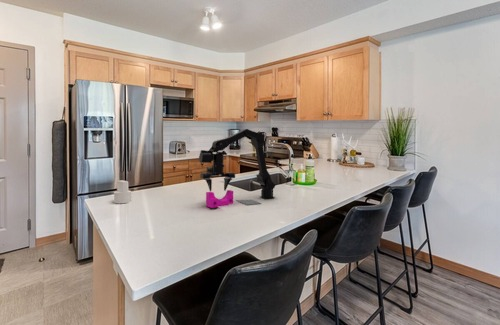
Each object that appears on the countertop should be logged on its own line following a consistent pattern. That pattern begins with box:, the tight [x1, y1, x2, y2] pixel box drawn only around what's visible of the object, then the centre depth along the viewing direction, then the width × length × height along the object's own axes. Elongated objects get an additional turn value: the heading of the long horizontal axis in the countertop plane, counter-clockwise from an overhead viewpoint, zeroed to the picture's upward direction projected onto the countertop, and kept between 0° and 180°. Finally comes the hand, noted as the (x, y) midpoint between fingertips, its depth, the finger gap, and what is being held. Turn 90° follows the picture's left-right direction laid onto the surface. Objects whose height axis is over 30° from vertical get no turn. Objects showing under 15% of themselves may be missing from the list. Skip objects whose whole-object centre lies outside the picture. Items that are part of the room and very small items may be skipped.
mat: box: [235, 199, 262, 206], centre depth 154 cm, size 9×18×1 cm, turn 28°
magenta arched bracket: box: [205, 189, 234, 209], centre depth 146 cm, size 15×6×8 cm, turn 126°
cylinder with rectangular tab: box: [113, 180, 132, 204], centre depth 153 cm, size 9×9×12 cm
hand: (217, 191), depth 148 cm, fingers open, 8 cm apart
